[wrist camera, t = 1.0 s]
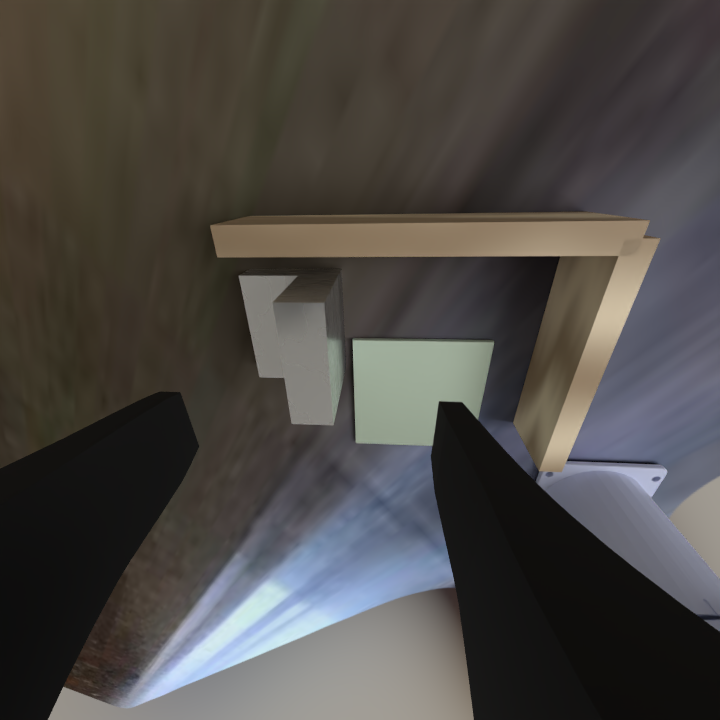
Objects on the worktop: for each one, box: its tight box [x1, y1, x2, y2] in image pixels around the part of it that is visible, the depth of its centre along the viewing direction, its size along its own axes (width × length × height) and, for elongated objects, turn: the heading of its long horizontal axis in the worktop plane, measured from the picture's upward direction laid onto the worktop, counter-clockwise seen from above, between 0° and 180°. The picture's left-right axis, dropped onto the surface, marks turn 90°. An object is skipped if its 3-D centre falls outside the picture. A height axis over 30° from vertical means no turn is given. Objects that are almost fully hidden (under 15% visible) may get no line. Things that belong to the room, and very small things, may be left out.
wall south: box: [513, 235, 660, 472], centre depth 16 cm, size 12×1×4 cm, turn 1°
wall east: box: [210, 212, 650, 257], centre depth 14 cm, size 1×16×4 cm, turn 91°
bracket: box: [239, 269, 346, 425], centre depth 16 cm, size 6×5×6 cm
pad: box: [353, 338, 494, 446], centre depth 20 cm, size 8×8×1 cm
